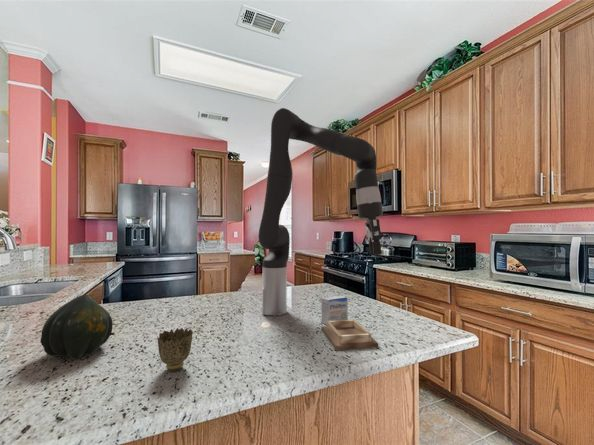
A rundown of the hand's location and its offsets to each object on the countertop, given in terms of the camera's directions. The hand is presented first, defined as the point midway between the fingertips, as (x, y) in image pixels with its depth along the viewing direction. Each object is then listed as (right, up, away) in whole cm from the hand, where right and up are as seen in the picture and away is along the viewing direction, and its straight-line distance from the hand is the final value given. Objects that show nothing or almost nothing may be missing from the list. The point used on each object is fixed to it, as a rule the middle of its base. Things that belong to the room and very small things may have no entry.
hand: (375, 253), depth 89 cm
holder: (-10, -24, -6) cm, 27 cm away
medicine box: (-12, -24, +7) cm, 28 cm away
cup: (-53, -24, -24) cm, 62 cm away
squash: (-81, -24, -16) cm, 86 cm away
